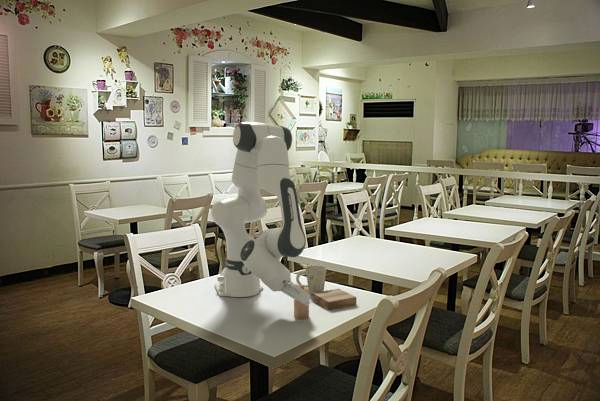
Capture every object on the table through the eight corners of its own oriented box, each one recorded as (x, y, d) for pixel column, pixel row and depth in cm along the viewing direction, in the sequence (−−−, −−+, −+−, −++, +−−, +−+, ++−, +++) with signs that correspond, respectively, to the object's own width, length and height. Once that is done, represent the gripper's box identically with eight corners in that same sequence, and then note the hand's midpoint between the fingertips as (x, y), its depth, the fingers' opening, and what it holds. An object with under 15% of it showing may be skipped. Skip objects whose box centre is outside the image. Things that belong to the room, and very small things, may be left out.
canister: (291, 315, 177) (291, 284, 175) (304, 313, 179) (304, 282, 178) (298, 320, 172) (298, 288, 171) (311, 317, 175) (311, 286, 173)
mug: (324, 295, 198) (324, 271, 197) (293, 294, 201) (293, 269, 200) (327, 289, 206) (327, 266, 205) (297, 288, 209) (297, 264, 208)
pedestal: (312, 300, 193) (312, 293, 192) (338, 295, 198) (338, 288, 198) (329, 310, 182) (329, 302, 182) (356, 304, 188) (356, 297, 187)
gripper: (298, 278, 161) (324, 302, 167) (270, 264, 179) (295, 286, 185) (285, 293, 159) (312, 317, 165) (259, 277, 177) (284, 300, 183)
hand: (303, 301), depth 175 cm, fingers closed on canister, 5 cm apart
